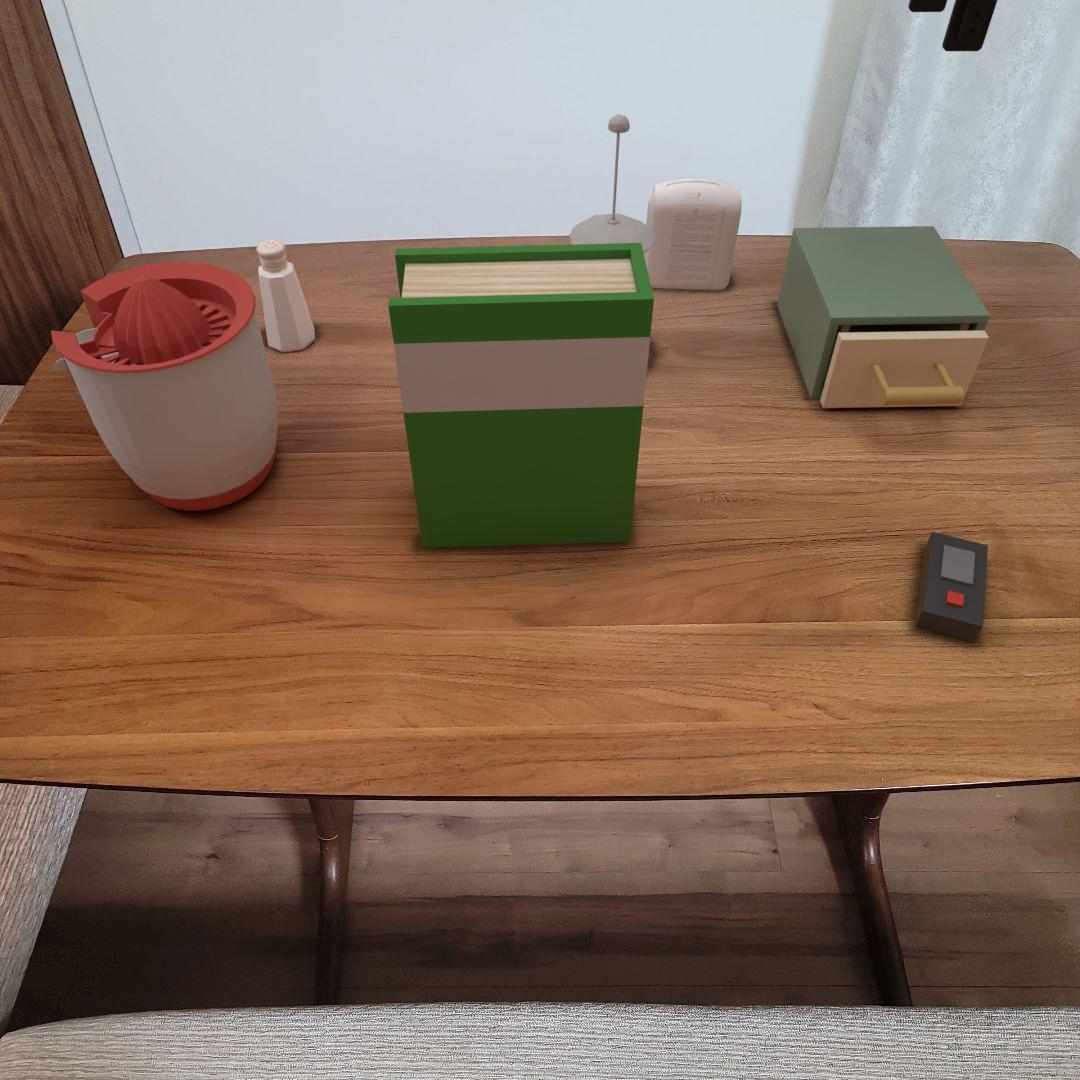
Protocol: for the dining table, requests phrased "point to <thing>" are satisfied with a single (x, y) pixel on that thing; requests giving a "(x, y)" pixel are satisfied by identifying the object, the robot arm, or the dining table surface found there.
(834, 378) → the drawer
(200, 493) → the citrus juicer
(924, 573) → the remote
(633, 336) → the hardback book
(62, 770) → the dining table surface
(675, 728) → the dining table surface
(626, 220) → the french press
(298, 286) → the salt shaker
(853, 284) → the cabinet
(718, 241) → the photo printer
